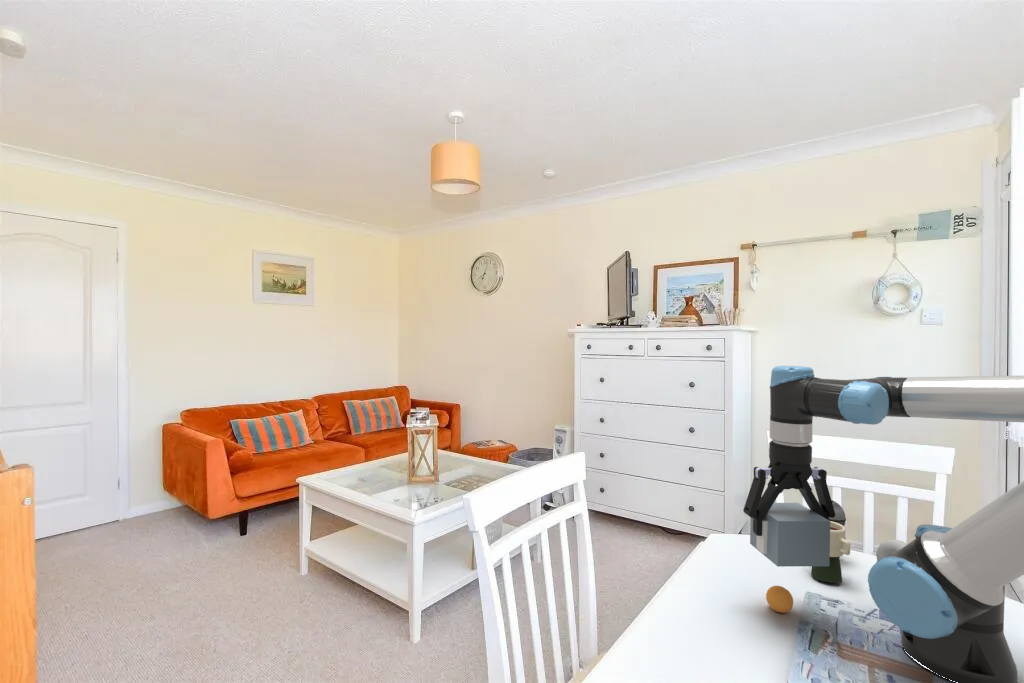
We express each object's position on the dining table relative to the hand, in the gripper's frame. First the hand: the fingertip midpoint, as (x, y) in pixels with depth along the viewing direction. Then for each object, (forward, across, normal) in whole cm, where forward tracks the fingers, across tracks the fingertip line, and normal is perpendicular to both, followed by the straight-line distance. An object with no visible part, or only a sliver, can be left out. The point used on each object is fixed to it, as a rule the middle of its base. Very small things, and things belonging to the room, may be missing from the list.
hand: (788, 550), depth 99 cm
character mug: (+14, -19, -15) cm, 28 cm away
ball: (+11, 0, -2) cm, 12 cm away
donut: (+14, -35, -14) cm, 40 cm away
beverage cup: (+14, -26, -25) cm, 38 cm away
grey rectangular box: (+1, 0, 0) cm, 1 cm away
